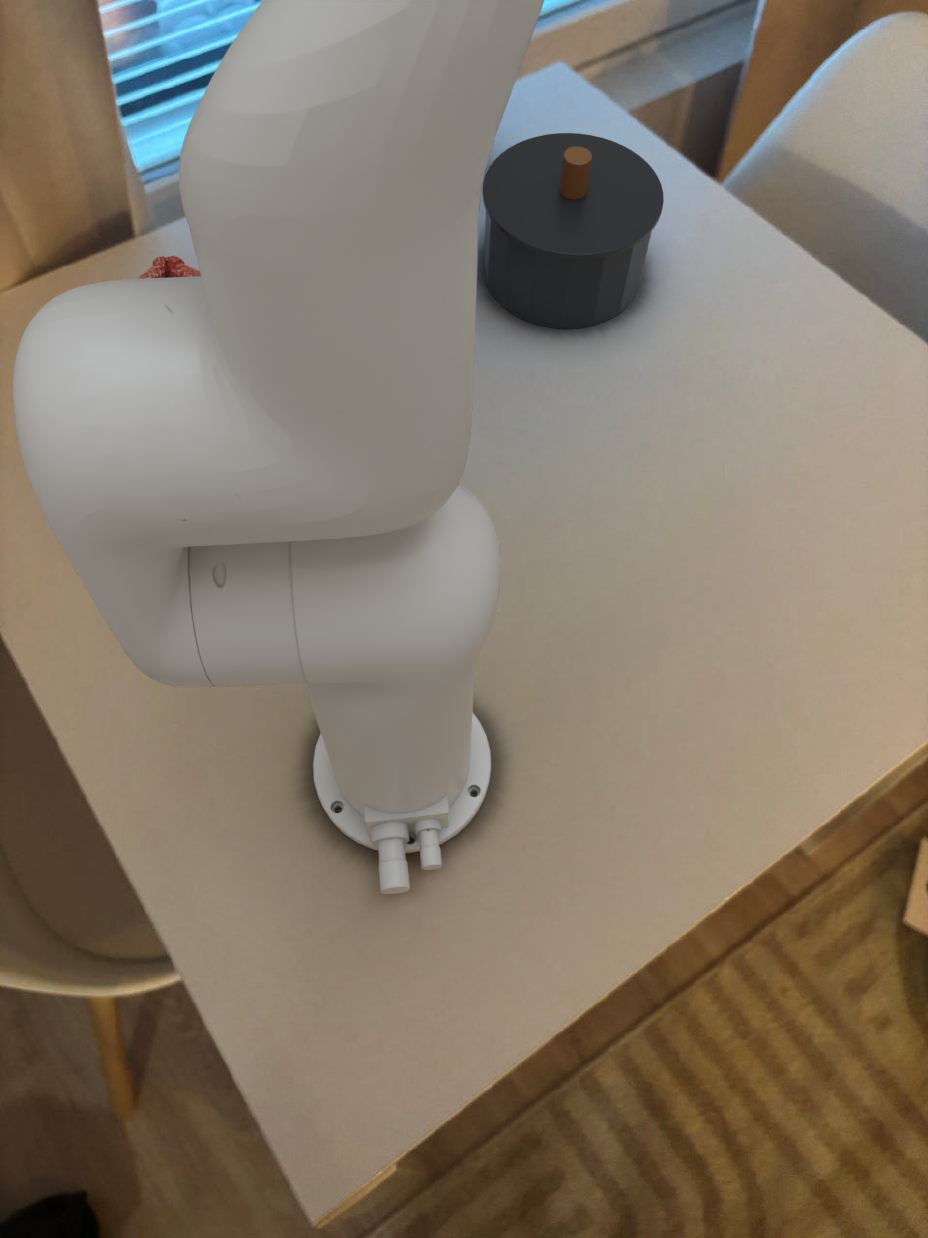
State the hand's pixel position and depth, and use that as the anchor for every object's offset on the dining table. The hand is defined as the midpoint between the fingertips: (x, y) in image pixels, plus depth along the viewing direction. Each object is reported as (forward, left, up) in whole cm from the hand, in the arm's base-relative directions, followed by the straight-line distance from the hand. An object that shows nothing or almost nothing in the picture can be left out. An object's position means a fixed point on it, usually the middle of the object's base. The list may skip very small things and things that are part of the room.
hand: (374, 122), depth 75 cm
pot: (0, -17, -17) cm, 24 cm away
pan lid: (0, -17, -8) cm, 19 cm away
